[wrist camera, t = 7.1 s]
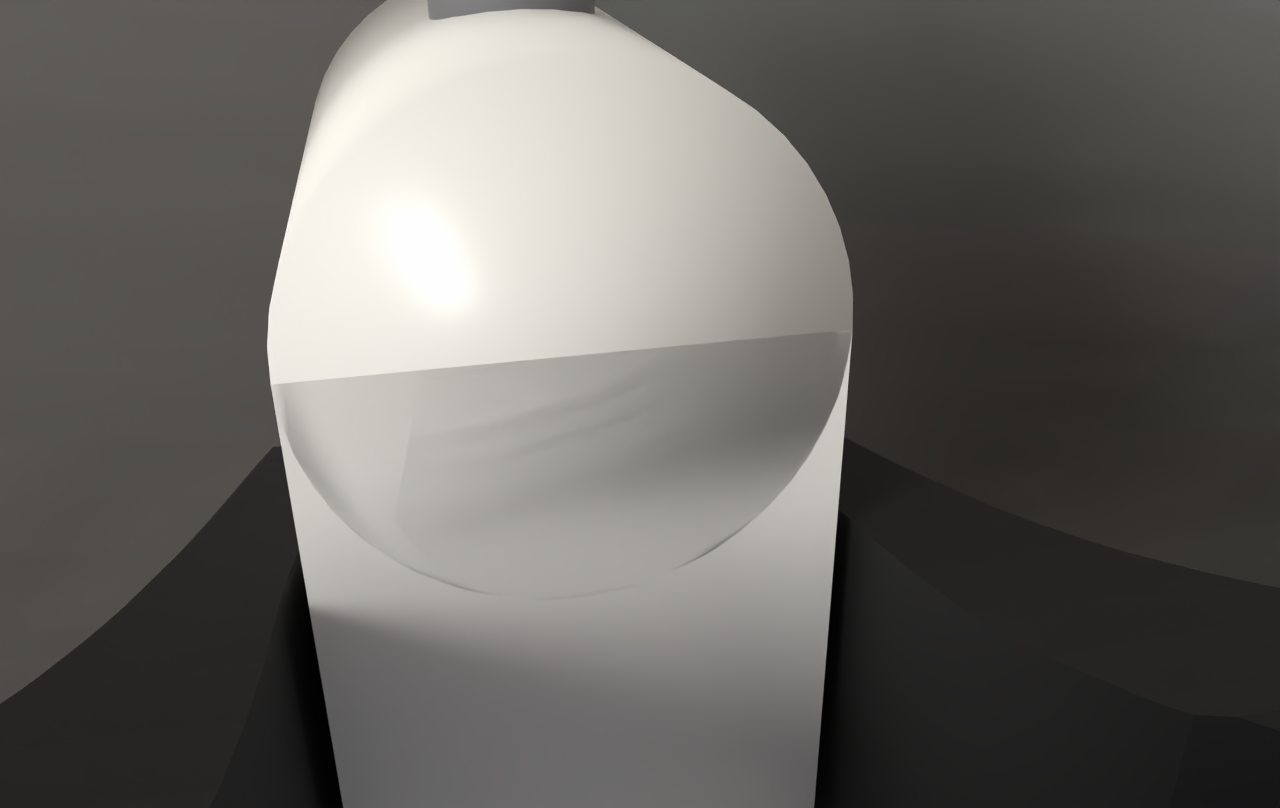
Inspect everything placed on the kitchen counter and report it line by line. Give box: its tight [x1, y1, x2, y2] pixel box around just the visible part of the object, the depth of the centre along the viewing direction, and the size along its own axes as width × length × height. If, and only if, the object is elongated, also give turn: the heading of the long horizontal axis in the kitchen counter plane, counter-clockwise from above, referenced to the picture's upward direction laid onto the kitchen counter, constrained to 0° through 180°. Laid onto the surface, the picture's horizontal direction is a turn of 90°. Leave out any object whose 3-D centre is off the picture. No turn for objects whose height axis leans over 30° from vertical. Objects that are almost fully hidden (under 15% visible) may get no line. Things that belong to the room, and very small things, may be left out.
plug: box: [267, 0, 853, 808], centre depth 10 cm, size 13×4×5 cm, turn 1°
